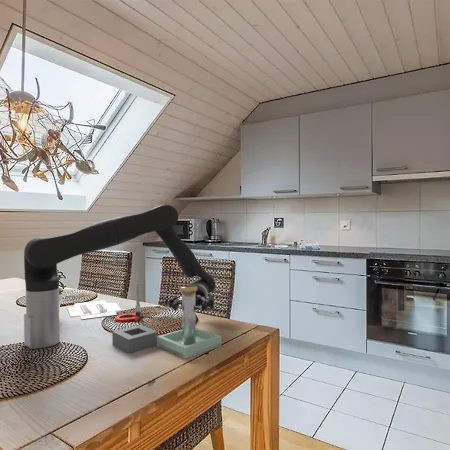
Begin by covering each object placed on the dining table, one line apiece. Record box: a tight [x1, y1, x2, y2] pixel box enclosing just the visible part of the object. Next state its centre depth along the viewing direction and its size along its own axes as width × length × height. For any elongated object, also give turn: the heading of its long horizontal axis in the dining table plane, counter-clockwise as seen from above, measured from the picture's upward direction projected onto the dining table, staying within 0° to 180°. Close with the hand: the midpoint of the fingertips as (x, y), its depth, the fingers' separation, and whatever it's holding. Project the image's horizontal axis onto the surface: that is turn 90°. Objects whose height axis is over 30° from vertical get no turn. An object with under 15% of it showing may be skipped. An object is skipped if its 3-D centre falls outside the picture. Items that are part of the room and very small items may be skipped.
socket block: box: [111, 324, 159, 354], centre depth 112 cm, size 10×10×4 cm
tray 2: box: [66, 299, 123, 320], centre depth 154 cm, size 20×28×4 cm
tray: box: [156, 327, 223, 360], centre depth 110 cm, size 14×14×3 cm
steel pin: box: [179, 284, 197, 345], centre depth 110 cm, size 5×5×17 cm
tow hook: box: [114, 282, 144, 323], centre depth 140 cm, size 9×14×10 cm
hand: (188, 307), depth 109 cm, fingers open, 8 cm apart
